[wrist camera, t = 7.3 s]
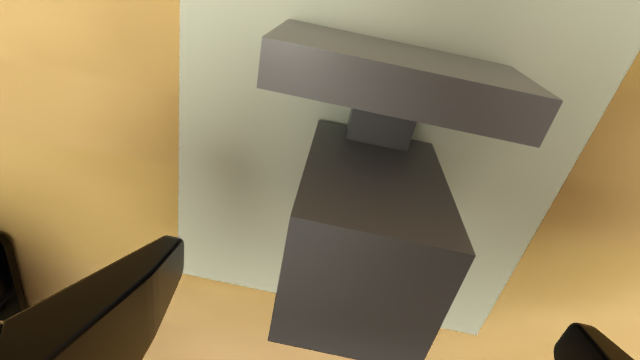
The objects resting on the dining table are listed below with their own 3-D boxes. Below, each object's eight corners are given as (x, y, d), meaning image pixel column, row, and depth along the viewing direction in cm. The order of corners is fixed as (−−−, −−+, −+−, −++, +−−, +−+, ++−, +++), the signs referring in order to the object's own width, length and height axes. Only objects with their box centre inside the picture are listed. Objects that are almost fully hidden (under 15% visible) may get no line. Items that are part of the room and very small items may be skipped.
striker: (436, 242, 15) (474, 384, 10) (263, 206, 15) (211, 328, 10) (511, 65, 12) (625, 141, 7) (288, 18, 12) (230, 57, 7)
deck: (466, 302, 20) (476, 335, 18) (194, 245, 20) (178, 272, 18) (783, -307, 9) (878, -369, 8) (217, -429, 9) (183, -520, 8)
